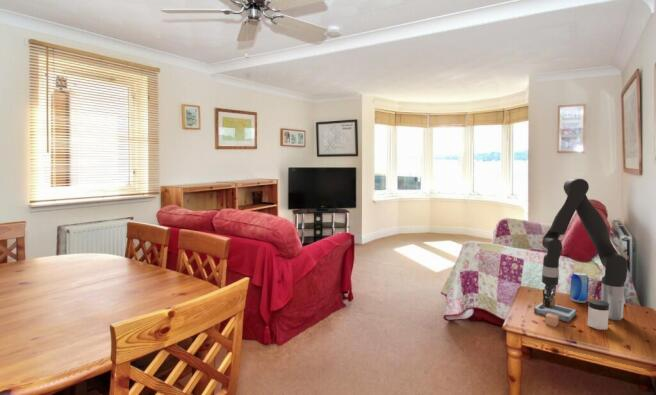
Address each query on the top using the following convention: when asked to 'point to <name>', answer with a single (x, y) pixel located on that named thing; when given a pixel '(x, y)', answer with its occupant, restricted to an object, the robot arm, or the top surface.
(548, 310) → the tray
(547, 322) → the block terracotta
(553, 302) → the block walnut
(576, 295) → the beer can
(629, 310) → the top surface
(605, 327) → the jar
